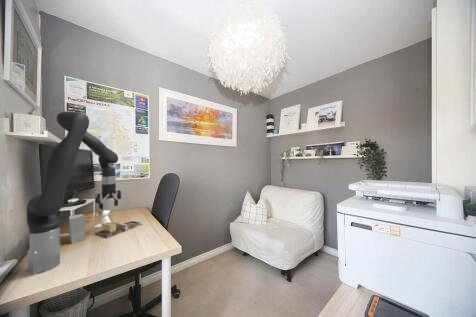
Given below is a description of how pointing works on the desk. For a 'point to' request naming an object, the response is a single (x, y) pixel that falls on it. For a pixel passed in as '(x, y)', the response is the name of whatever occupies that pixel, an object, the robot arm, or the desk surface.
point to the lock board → (119, 229)
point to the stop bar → (108, 228)
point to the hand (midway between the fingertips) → (108, 207)
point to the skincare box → (77, 228)
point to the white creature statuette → (104, 218)
